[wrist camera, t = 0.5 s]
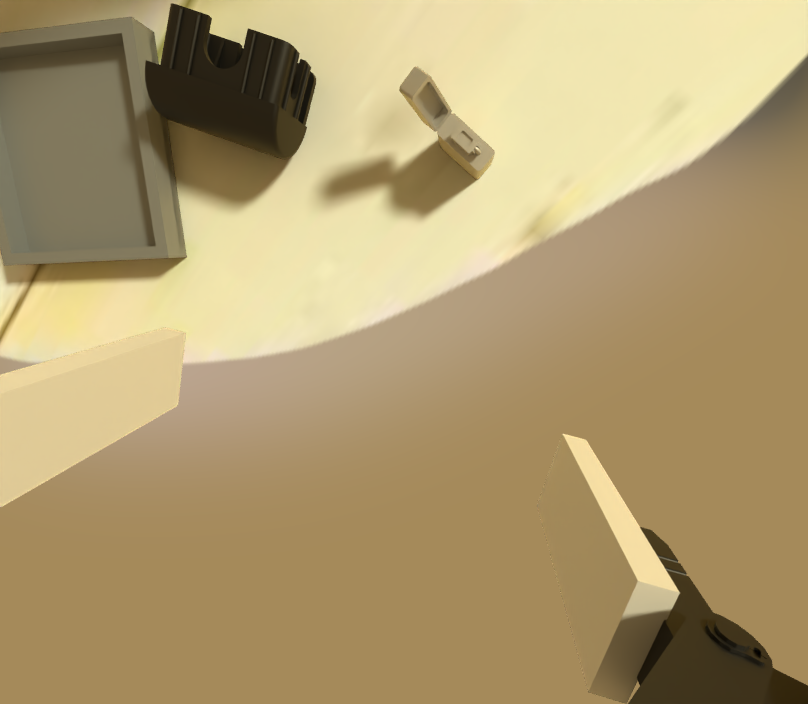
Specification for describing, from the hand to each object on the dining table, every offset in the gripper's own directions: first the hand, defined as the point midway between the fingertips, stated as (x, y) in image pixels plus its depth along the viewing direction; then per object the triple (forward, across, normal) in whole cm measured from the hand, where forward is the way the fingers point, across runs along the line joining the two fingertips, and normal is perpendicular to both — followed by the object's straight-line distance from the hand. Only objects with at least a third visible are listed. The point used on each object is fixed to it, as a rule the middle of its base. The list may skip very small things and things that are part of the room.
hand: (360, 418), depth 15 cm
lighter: (+25, -1, +14) cm, 29 cm away
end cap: (+26, -18, +13) cm, 34 cm away
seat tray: (+25, -32, +6) cm, 41 cm away
